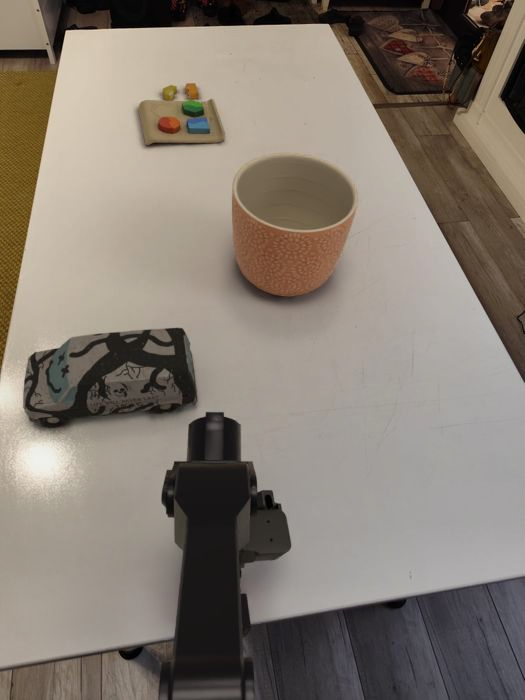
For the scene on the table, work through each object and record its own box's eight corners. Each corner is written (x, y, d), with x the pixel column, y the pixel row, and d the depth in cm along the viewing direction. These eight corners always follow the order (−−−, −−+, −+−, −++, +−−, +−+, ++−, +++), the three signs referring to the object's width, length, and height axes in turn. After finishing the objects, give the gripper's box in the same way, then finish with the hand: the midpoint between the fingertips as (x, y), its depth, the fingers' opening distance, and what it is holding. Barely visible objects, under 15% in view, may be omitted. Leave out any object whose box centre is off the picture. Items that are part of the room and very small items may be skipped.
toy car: (36, 372, 83) (17, 333, 75) (191, 356, 87) (189, 318, 79) (31, 431, 77) (10, 397, 69) (199, 411, 81) (197, 376, 73)
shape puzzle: (226, 143, 124) (226, 129, 121) (145, 148, 120) (144, 134, 117) (207, 88, 138) (207, 75, 135) (135, 91, 134) (133, 78, 132)
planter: (214, 246, 103) (215, 161, 88) (309, 226, 108) (326, 144, 93) (251, 324, 92) (259, 243, 77) (354, 298, 98) (381, 218, 82)
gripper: (308, 616, 49) (288, 637, 62) (274, 437, 60) (263, 486, 72) (189, 636, 47) (194, 653, 60) (176, 448, 58) (182, 496, 71)
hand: (212, 565), depth 66 cm, fingers closed
